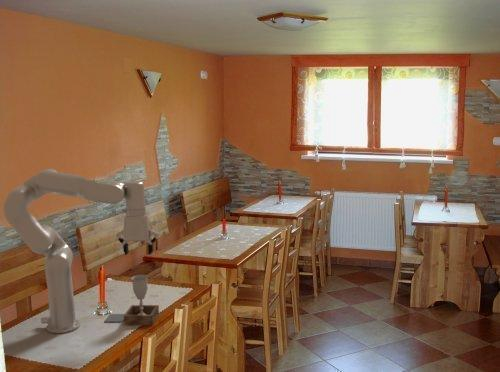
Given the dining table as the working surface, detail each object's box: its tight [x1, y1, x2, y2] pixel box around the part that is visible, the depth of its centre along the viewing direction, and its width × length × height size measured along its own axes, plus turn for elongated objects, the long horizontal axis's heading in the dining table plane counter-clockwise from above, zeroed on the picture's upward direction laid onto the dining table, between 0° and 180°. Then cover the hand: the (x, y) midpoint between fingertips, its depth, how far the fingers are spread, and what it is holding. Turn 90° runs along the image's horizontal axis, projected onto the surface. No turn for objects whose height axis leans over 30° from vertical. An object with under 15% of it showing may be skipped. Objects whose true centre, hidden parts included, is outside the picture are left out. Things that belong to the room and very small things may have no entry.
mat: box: [103, 313, 125, 323], centre depth 235 cm, size 8×8×1 cm
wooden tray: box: [123, 304, 160, 326], centre depth 233 cm, size 12×12×4 cm
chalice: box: [130, 274, 149, 315], centre depth 232 cm, size 7×7×18 cm
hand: (138, 253), depth 229 cm, fingers open, 9 cm apart
